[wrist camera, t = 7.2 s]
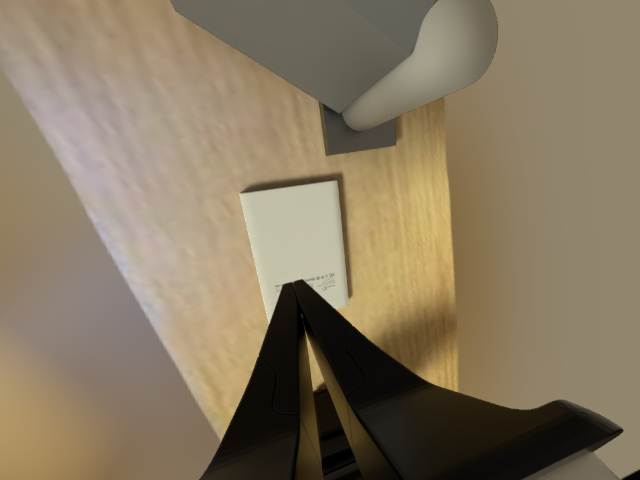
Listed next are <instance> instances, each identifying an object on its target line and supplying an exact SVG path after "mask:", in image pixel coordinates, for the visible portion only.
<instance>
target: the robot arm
mask: <svg viewBox="0 0 640 480" xmlns="http://www.w3.org/2000/svg"><path fill="white" fill-rule="evenodd" d="M303 323H304V324H303ZM304 327H305V328H304ZM305 331H306V332H305ZM306 334H307V337H308V340H309V342H310V345H311V347H312V350H313V352H314V355H315V357H316V360H317V362H318V365H319V368H320V370H321V373H322V375H323V378H324V380H325V383H326V385H327V388H328V390H325V391H322V392H319V393H316V394H313V388H312V380H311V372H310V364H309V355H308V347H307V339H306ZM622 432H623V429H622V428H621V427H620V426H618V425H617V424H615V423H613V422H612V421H610V420H609V419H607V418H605V417H603V416H601V415H600V414H597V413H595V412H593V411H591V410H589V409H586V408H584V407H581V406H579V405H576V404H574V403H571V402H569V401H566V400H556V401H552V402H550V403H547V404H545V405H543V406H540V407H538V408H535V409H531V410H519V409H511V408H507V407H503V406H499V405H496V404H493V403H490V402H487V401H483V400H481V399H477V398H474V397H471V396H468V395H465V394H462V393H458V392H455V391H452V390H449V389H446V388H442V387H439V386H436V385H434V384H432V383H430V382H428V381H426V380H424V379H422V378H421V377H419V376H418V375H416V374H415V373H413V372H412V371H410V370H409V369H408V368H406V367H405V366H404V365H402V364H401V363H399V362H398V361H397V360H395V359H394V358H392V357H391V356H390V355H388V354H387V353H386V352H384V351H383V350H381V349H380V348H379V347H378V346H376V345H375V344H374V343H372V342H371V341H370V340H369V339H368V338H366V337H365V336H364V335H363V334H362V333H361V332H359V331H358V330H357V329H356V328H355V327H354V326H352V324H351V323H350V322H349V321H348V320H346V319H345V318H344V317H343V316H342V315H341V314H340V313H339V312H338V311H337V310H336V309H335V308H333V307H332V306H331V305H330V304H329V303H328V302H327V301H326V300H325V299H324V298H323V297H322V296H321V295H319V294H318V293H317V292H316V291H315V290H314V289H313V288H312V287H311V286H310V285H309V284H308V283H307V282H305V281H304V280H303V279H300V280H296V281H294V282H289V283H285V284H283V286H282V289H281V291H280V294H279V297H278V300H277V303H276V306H275V309H274V312H273V315H272V318H271V321H270V323H269V326H268V329H267V332H266V335H265V338H264V341H263V344H262V347H261V350H260V353H259V356H258V358H257V361H256V364H255V367H254V369H253V372H252V375H251V377H250V380H249V383H248V385H247V387H246V390H245V392H244V394H243V396H242V399H241V401H240V403H239V405H238V407H237V409H236V412H235V414H234V416H233V418H232V420H231V422H230V424H229V426H228V429H227V431H226V433H225V435H224V437H223V439H222V441H221V444H220V446H219V448H218V450H217V452H216V454H215V456H214V457H213V459H212V461H211V463H210V464H209V466H208V468H207V470H206V471H205V472H204V474H203V475H202V476H201V478H200V479H199V480H640V469H638V470H636V471H634V472H632V473H631V474H629V475H627V476H625V477H623V478H621V479H619V478H618V477H617V476H616V475H615V474H614V473H613V472H612V471H611V470H610V469H609V468H608V467H607V466H606V465H605V464H604V463H603V462H602V461H601V460H600V459H599V458H598V457H597V456H596V455H595V454H594V453H593V452H594V451H595V450H597V449H598V448H600V447H602V446H603V445H605V444H606V443H608V442H609V441H611V440H613V439H614V438H616V437H617V436H619V435H620V434H621V433H622Z"/></svg>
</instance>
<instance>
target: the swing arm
mask: <svg viewBox="0 0 640 480" xmlns="http://www.w3.org/2000/svg"><path fill="white" fill-rule="evenodd" d="M170 2H171V3H172V5H173V7H174V9H175V11H176V12H177V13H179V14H181V15H182V16H184V17H185V18H187V19H189V20H190V21H192V22H193V23H195V24H197V25H198V26H200V27H201V28H203V29H205V30H206V31H208V32H209V33H211V34H213V35H214V36H216V37H217V38H219V39H221V40H222V41H224V42H225V43H227V44H229V45H230V46H232V47H233V48H235V49H237V50H238V51H240V52H241V53H243V54H245V55H246V56H248V57H249V58H251V59H253V60H254V61H256V62H257V63H259V64H261V65H262V66H264V67H265V68H267V69H269V70H270V71H272V72H273V73H275V74H277V75H278V76H280V77H281V78H283V79H285V80H286V81H288V82H289V83H291V84H293V85H294V86H296V87H297V88H299V89H301V90H302V91H304V92H305V93H307V94H309V95H310V96H312V97H313V98H315V99H317V100H318V101H320V102H321V103H323V104H325V105H326V106H328V107H329V108H331V109H333V110H334V111H336V112H337V113H340V112H342V115H343V118H344V120H345V122H346V124H347V125H348V126H349V127H350V128H352V129H353V130H356V131H366V130H368V129H371V128H373V127H375V126H378V125H380V124H382V123H384V122H387V121H389V120H391V119H393V118H396V117H398V116H400V115H403V114H405V113H407V112H409V111H412V110H414V109H416V108H419V107H421V106H423V105H425V104H428V103H430V102H432V101H435V100H437V99H439V98H441V97H444V96H446V95H448V94H450V93H453V92H455V91H457V90H460V89H462V88H464V87H466V86H468V85H471V84H473V83H474V82H476V81H477V80H478V79H480V77H481V76H482V75H483V74H484V73H485V72H486V70H487V69H488V67H489V65H490V64H491V61H492V59H493V57H494V54H495V50H496V46H497V40H498V24H497V18H496V14H495V11H494V8H493V5H492V3H491V2H490V0H438V1H437V2H436V3H435V4H434V2H435V0H170Z"/></svg>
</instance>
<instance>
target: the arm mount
mask: <svg viewBox="0 0 640 480" xmlns="http://www.w3.org/2000/svg"><path fill="white" fill-rule="evenodd" d="M319 107H320V114H321V122H322V130H323V137H324V145H325V153H326V156H329V155H336V154H342V153H349V152H356V151H363V150H370V149H377V148H383V147H390V146H395V145H396V135H395V118H393V119H391V120H389V121H387V122H384V123H382V124H380V125H378V126H375V127H373V128H371V129H368V130H366V131H356V130H353V129H352V128H350V127H349V126H348V125H347V124H346V122H345V120H344V118H343V115H342V112H340V113H337V112H336V111H334V110H333V109H331V108H329V107H328V106H326V105H325V104H323V103H321V102H320V101H319Z"/></svg>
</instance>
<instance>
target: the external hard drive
mask: <svg viewBox="0 0 640 480" xmlns="http://www.w3.org/2000/svg"><path fill="white" fill-rule="evenodd" d="M239 195H240V199H241V204H242V208H243V212H244V217H245V221H246V226H247V230H248V235H249V239H250V244H251V248H252V252H253V257H254V261H255V266H256V270H257V274H258V279H259V283H260V288H261V292H262V296H263V301H264V305H265V309H266V313H267V318H268V323H270V321H271V318H272V315H273V312H274V309H275V306H276V303H277V300H278V297H279V294H280V291H281V289H282V286H283V284H285V283H289V282H294V281H296V280H300V279H303V280H304V281H305V282H307V283H308V284H309V285H310V286H311V287H312V288H313V289H314V290H315V291H316V292H317V293H318V294H319V295H321V296H322V297H323V298H324V299H325V300H326V301H327V302H328V303H329V304H330V305H331V306H332V307H333V308H335V309H337V308H341V307H345V306H347V305H349V300H348V288H347V276H346V265H345V255H344V243H343V233H342V222H341V211H340V202H339V190H338V181H337V180H329V181H322V182H315V183H308V184H301V185H294V186H287V187H280V188H272V189H265V190H258V191H250V192H243V193H240V194H239Z"/></svg>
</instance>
